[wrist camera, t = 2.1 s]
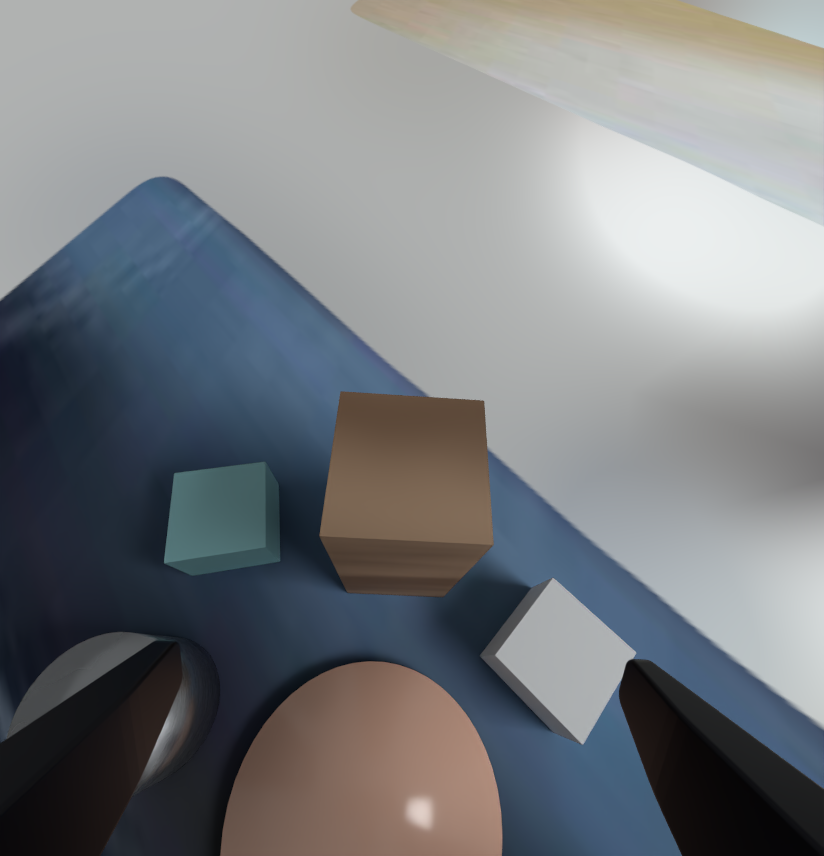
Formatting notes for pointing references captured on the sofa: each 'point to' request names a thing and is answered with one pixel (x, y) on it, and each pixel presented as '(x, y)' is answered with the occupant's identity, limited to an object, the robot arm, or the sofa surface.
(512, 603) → the sofa surface
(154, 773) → the metal bowl
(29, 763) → the robot arm
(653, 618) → the sofa surface
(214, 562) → the teal block
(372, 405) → the walnut block
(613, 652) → the grey block
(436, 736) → the coaster
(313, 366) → the sofa surface
